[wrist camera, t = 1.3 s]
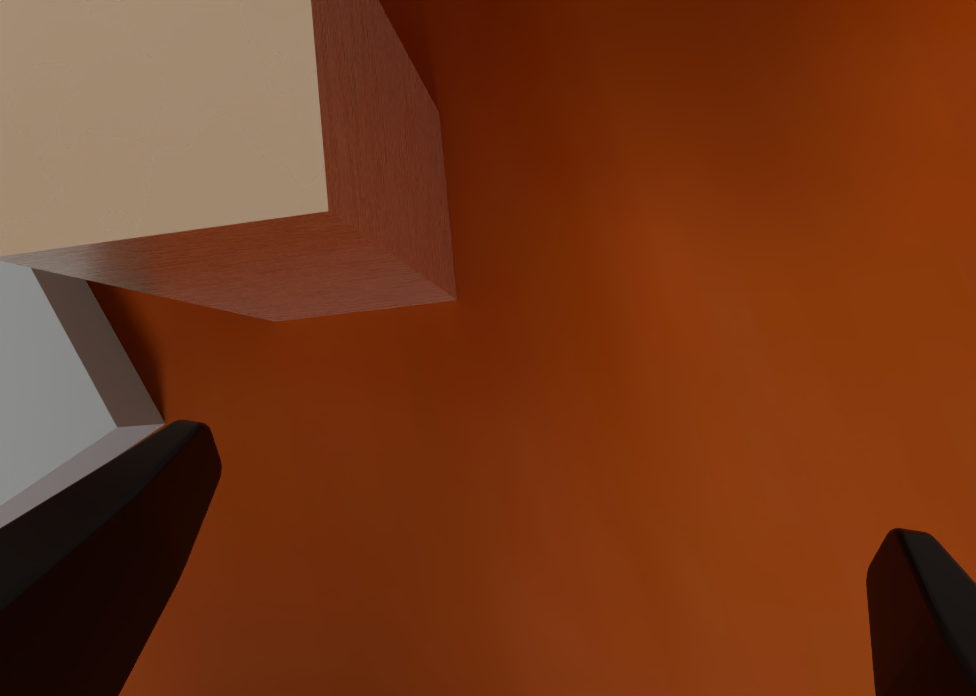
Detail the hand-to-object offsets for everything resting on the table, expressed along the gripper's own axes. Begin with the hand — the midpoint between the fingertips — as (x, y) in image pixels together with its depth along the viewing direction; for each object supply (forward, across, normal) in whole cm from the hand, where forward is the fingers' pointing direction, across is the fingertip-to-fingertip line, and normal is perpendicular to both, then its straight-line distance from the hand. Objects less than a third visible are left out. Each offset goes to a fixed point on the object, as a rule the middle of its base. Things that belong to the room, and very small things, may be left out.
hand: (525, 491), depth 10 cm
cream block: (+14, +8, +5) cm, 17 cm away
